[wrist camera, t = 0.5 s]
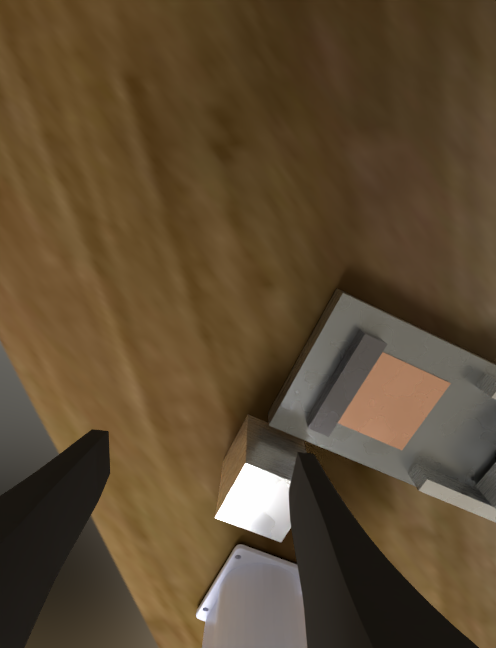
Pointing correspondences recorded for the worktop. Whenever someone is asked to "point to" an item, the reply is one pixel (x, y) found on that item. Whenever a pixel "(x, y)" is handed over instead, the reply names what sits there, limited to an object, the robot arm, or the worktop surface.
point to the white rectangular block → (258, 479)
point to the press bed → (394, 401)
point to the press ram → (489, 485)
